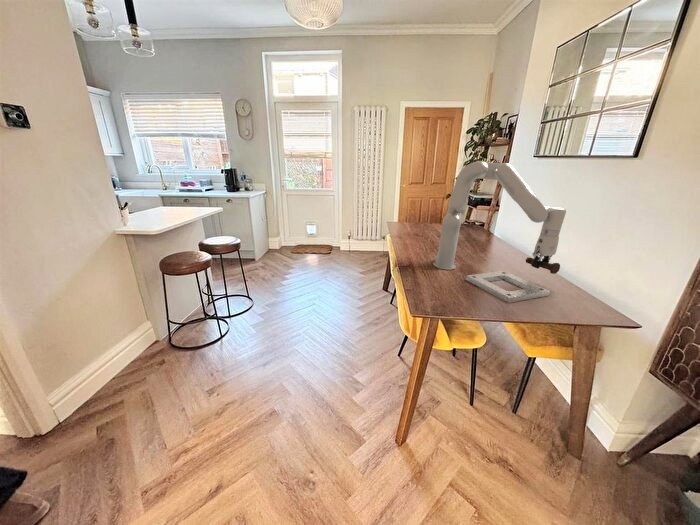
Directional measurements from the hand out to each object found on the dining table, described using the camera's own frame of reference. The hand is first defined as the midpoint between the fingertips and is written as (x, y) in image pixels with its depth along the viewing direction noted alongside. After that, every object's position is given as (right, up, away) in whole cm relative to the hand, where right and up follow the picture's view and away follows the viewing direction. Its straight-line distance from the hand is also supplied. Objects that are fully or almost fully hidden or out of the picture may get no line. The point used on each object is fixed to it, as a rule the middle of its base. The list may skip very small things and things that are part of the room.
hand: (539, 266), depth 140 cm
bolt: (0, -1, 0) cm, 1 cm away
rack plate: (-20, -10, -4) cm, 23 cm away
